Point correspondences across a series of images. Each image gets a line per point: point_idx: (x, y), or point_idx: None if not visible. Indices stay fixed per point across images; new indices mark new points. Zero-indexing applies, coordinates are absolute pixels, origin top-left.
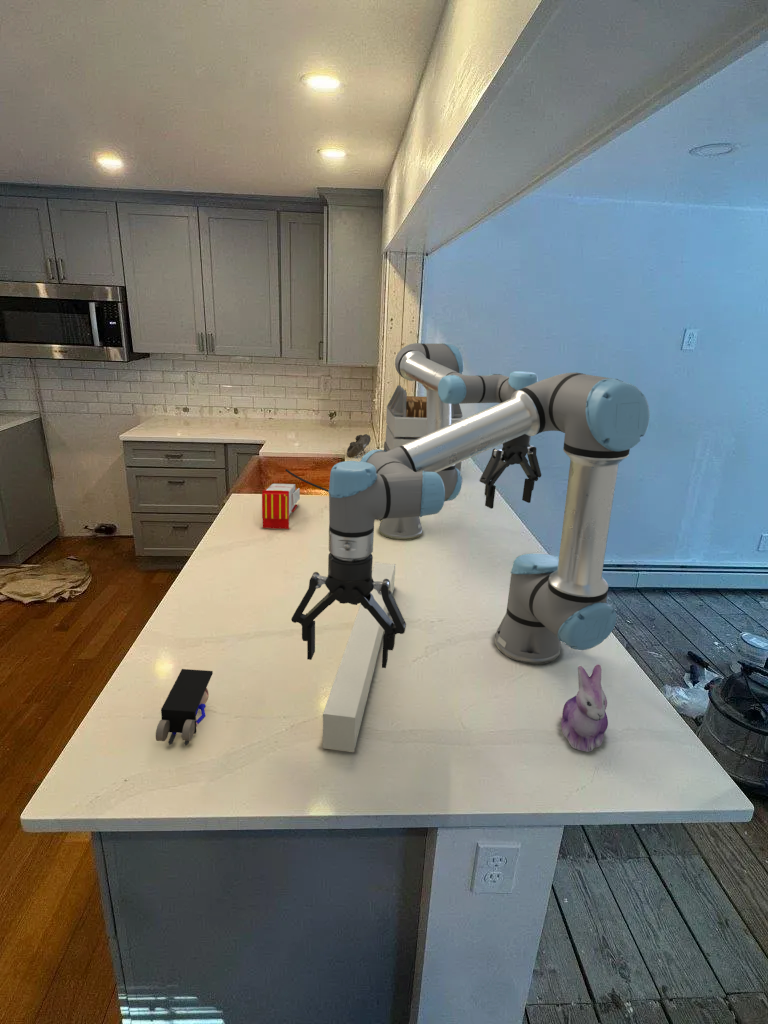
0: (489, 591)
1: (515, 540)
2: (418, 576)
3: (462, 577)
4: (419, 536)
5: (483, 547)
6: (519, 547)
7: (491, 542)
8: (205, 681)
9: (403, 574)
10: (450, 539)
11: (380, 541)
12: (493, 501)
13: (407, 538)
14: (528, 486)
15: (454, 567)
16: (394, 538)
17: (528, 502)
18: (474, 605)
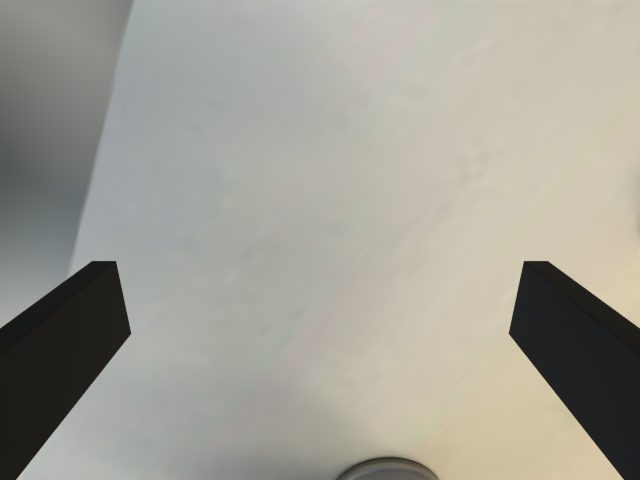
0: (406, 107)
1: None
2: None
3: (417, 223)
4: (358, 465)
5: (223, 358)
6: None
7: (177, 376)
8: None
9: None
10: (284, 428)
11: (469, 474)
12: (567, 292)
13: (402, 463)
14: (10, 392)
15: (393, 285)
16: (432, 474)
17: (113, 262)
18: (521, 45)
